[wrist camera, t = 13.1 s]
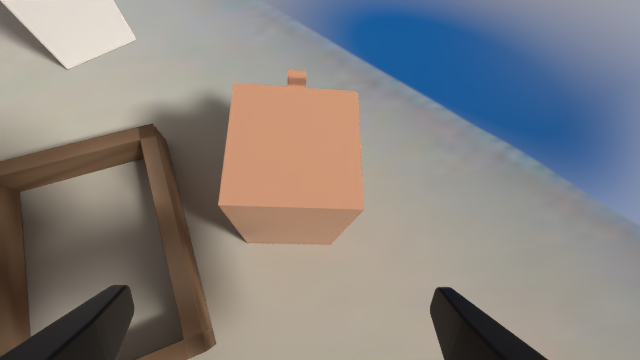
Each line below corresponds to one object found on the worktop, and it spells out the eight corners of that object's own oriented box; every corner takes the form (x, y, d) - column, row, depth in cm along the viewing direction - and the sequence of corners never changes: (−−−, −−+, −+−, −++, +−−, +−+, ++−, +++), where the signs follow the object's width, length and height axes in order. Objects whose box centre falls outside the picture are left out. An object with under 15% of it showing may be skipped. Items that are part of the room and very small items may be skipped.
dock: (216, 343, 19) (206, 351, 17) (16, 428, 16) (-29, 450, 14) (165, 140, 23) (152, 123, 21) (2, 183, 21) (-33, 169, 19)
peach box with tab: (330, 244, 22) (363, 209, 13) (247, 243, 21) (218, 205, 12) (329, 143, 25) (356, 54, 16) (256, 139, 24) (238, 44, 15)
